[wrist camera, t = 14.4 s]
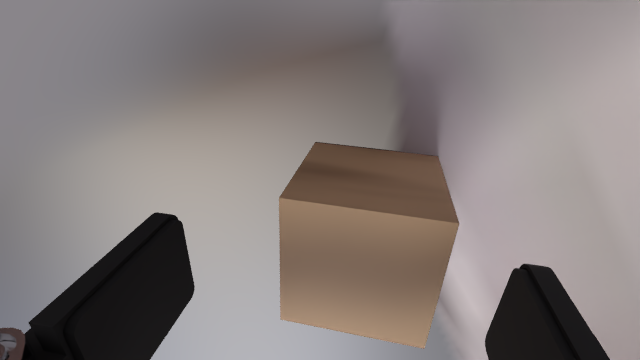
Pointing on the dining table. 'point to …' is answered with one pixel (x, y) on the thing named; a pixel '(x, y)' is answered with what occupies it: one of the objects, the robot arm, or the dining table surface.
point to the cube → (365, 242)
